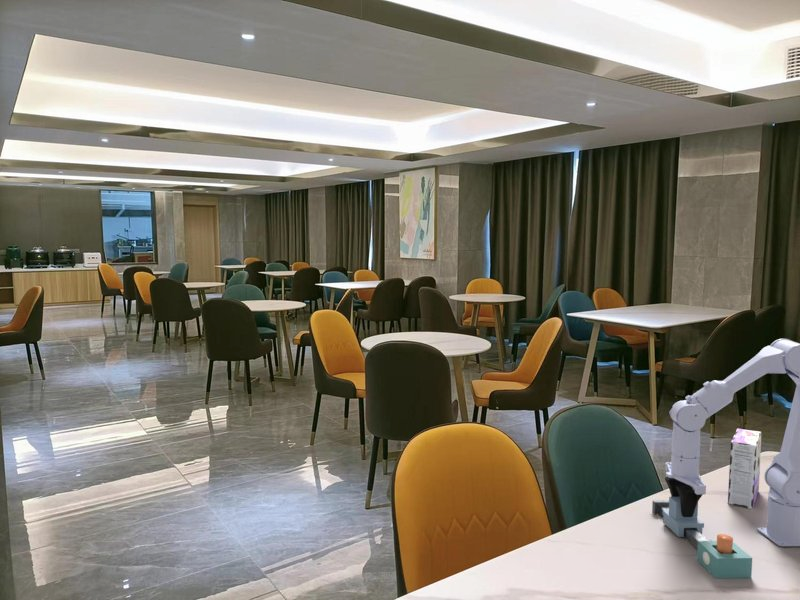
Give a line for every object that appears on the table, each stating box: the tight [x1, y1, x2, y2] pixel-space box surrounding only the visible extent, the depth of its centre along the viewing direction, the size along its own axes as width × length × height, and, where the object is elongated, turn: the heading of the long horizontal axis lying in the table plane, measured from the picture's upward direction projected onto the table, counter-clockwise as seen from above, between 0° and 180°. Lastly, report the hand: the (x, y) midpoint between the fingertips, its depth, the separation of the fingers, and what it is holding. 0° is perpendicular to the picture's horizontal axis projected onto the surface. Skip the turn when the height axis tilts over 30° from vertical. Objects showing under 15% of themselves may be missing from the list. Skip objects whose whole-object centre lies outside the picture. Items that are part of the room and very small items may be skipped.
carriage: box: [662, 496, 705, 538], centre depth 137 cm, size 6×7×7 cm
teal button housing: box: [696, 540, 753, 579], centre depth 121 cm, size 7×7×4 cm
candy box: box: [727, 428, 762, 510], centre depth 155 cm, size 14×6×16 cm, turn 144°
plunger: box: [716, 533, 734, 554], centre depth 121 cm, size 3×3×4 cm
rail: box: [651, 499, 710, 551], centre depth 136 cm, size 5×21×3 cm, turn 2°
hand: (683, 512), depth 137 cm, fingers closed on carriage, 3 cm apart
